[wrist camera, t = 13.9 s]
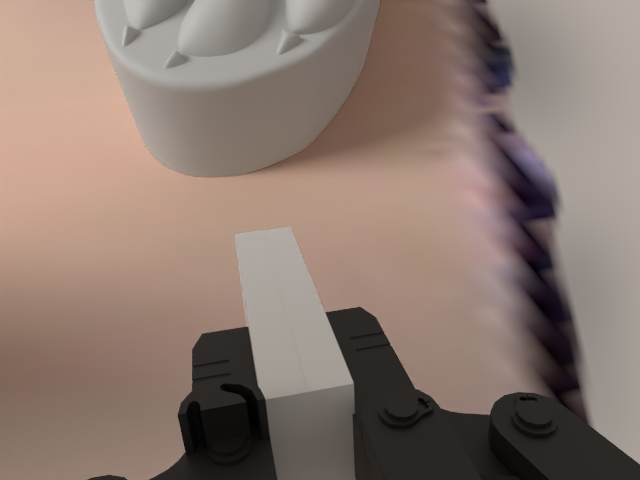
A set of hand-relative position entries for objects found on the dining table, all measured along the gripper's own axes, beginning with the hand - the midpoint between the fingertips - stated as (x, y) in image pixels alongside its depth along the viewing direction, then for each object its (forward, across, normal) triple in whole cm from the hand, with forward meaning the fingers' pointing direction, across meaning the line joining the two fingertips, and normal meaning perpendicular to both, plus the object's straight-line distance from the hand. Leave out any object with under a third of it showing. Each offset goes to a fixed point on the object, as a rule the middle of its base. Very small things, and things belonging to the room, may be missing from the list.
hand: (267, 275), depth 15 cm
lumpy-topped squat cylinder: (+17, +1, +3) cm, 17 cm away
